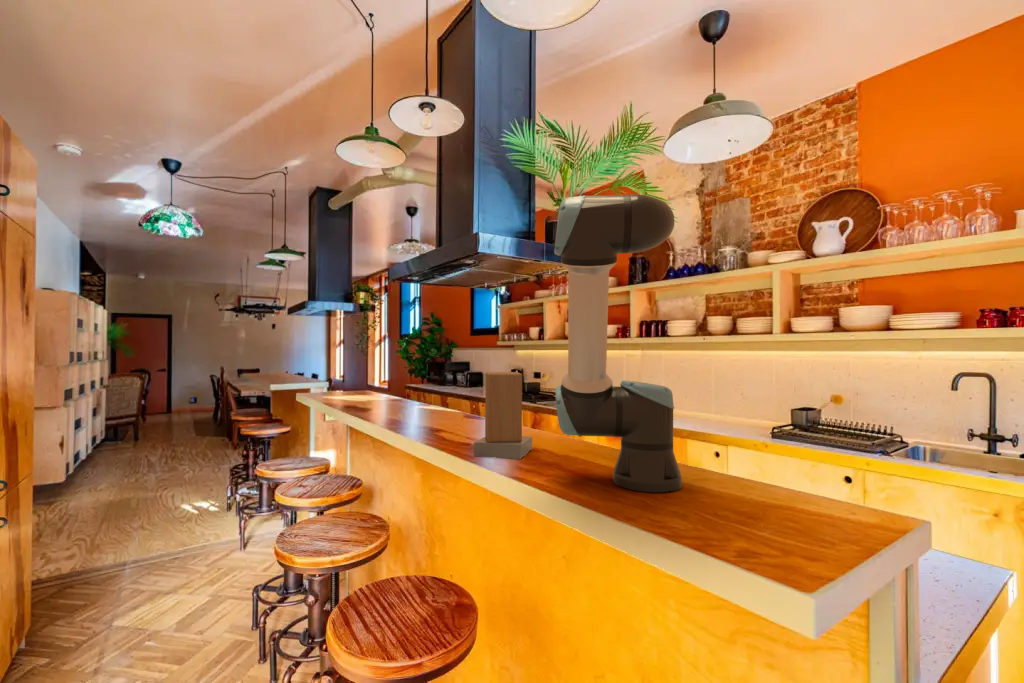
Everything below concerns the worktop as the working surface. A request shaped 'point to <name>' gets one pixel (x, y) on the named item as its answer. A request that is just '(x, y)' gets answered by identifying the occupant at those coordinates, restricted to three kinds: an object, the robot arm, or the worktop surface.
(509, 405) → the wooden block
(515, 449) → the grey flat square block
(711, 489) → the worktop surface
